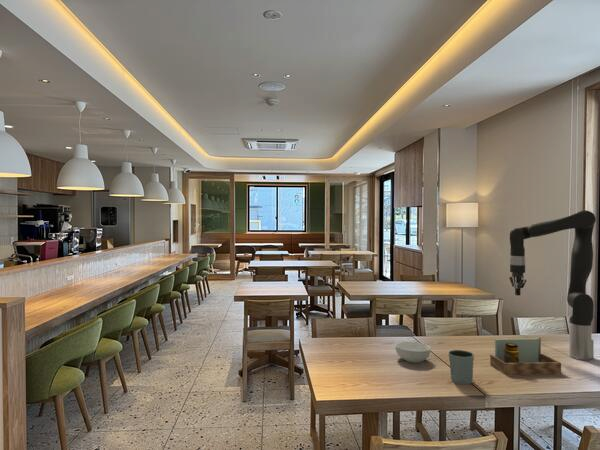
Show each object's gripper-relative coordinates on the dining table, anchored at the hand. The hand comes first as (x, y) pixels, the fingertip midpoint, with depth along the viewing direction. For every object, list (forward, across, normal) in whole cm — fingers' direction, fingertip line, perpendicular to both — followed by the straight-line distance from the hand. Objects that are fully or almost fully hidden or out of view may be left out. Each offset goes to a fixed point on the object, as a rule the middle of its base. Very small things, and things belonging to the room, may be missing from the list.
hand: (517, 295), depth 222 cm
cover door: (+29, -26, +16) cm, 42 cm away
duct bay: (+29, -33, +17) cm, 47 cm away
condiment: (+29, -33, +24) cm, 50 cm away
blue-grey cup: (+29, -46, +53) cm, 76 cm away
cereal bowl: (+29, -18, +65) cm, 74 cm away
